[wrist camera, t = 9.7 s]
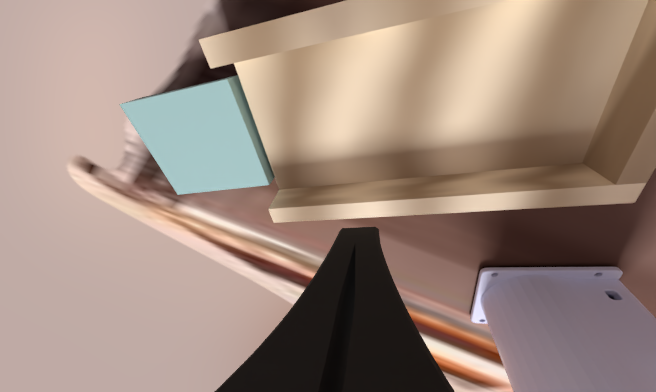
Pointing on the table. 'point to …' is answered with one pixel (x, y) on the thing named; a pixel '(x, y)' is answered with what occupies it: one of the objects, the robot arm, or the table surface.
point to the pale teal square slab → (203, 136)
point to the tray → (450, 104)
